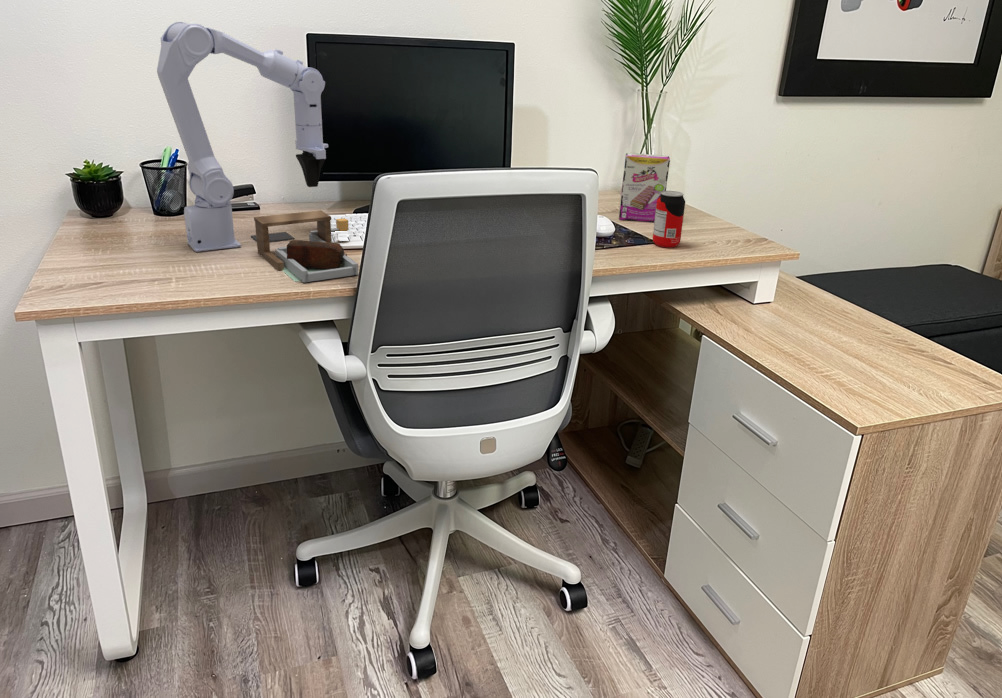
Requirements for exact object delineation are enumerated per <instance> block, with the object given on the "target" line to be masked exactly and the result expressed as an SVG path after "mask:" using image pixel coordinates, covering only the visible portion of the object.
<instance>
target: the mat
mask: <svg viewBox="0 0 1002 698" xmlns="http://www.w3.org/2000/svg"><path fill="white" fill-rule="evenodd" d="M340 268H343V267H341V266H340ZM305 269H306V270H308V272H315V271H322V270H329V269H322V268H305ZM281 271H282V272H283V273H284V274H285V275H286V274H287V277H288V278H290V279H291V280H292V281H293V282H295V283H297V282H298V281H299V282H302V281H301V280H300V279H298V278H297V277H296V276H295V275H294V274H292V273H291V272H290V271H289V270H288V269H287V268H285V267H284V270H281Z"/></svg>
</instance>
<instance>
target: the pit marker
mask: <svg viewBox="0 0 1002 698" xmlns="http://www.w3.org/2000/svg"><path fill="white" fill-rule="evenodd" d="M250 238H251V239H252V238H253V239H252V240H253V241H255V242H256V243H257V239H256V234H254V235H253V234H252V235H250ZM288 239H293V240H295V237H293V236H292V235H291V234H289V233H288V232H287V231H280V232H271V233H270V232H269V243H275V242H276V243H277V242H282V240H285V241H289V240H288Z"/></svg>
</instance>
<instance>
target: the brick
mask: <svg viewBox="0 0 1002 698" xmlns="http://www.w3.org/2000/svg"><path fill="white" fill-rule="evenodd" d="M286 247H287V259H294V260H295V261H296V262H297V263H299V264H300V265H301V266H302V267H304V268H322V269H336V268H340V266H341V265H342V264H343V256H344V252H345V251H344V248H343V246H342V245H341V244H340V243H339V242H333V241H332V242H330V243H329V242H313V241H309V240H300V239H293V240H289V242H288V244H287V245H286Z"/></svg>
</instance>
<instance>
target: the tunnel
mask: <svg viewBox="0 0 1002 698" xmlns="http://www.w3.org/2000/svg"><path fill="white" fill-rule="evenodd" d="M331 220H332V216H331V215H329V214H328V213H326V212H324V211H322V210H311V211H303V212H292V213H283V214H282V213H281V214H273V215H262V216H255V217H253V221H254V226H255V227H254V228H255V235H256V239H257V242H256V248H257V249H256V250H257V254H258V255H260V257H261V258H263V259H264V260H265V261H266V262H267V263H269V264H270V265H271V266H272V267H273V268H274V269H275V270H277V272H278V271H282V270H284V262H282V261H281V260H280V259H279V258H278V257H276V254H274V253H273V252H271V246H270V245H271V244H270V243H271V242H269V234H270V232H269V227H276V226H277V227H278V226H287V225H296V224H305V223H313V222H315V223H316V229H317V231H318V237H319V238H321V239H322V240H324V241H325V242H329V243H330V242H332V243H333V241H332V235H331V229H332V226H331V225H332V224H331V223H332V221H331ZM344 255H346V256H347V257H348V254H347V252H345V251H344Z"/></svg>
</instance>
